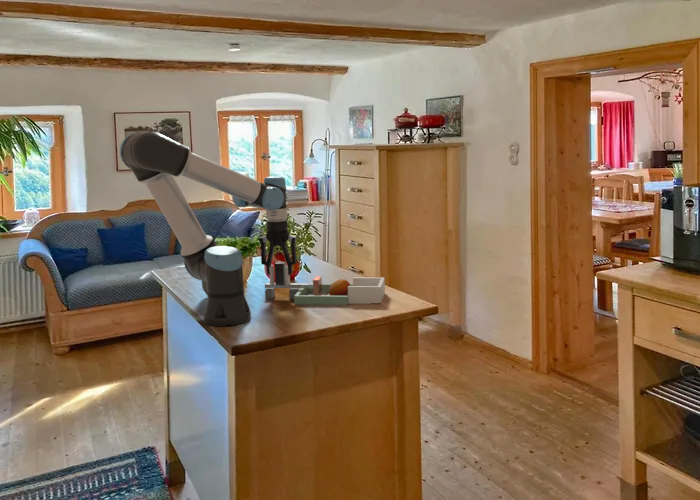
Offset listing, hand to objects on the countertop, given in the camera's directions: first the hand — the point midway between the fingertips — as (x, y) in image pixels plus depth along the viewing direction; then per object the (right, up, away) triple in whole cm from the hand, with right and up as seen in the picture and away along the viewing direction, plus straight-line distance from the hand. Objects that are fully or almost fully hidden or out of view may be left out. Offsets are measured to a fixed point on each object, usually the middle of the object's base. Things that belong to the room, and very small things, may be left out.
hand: (280, 283), depth 232 cm
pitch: (+10, -5, 0) cm, 12 cm away
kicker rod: (+5, -5, 0) cm, 7 cm away
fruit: (+22, -5, -2) cm, 23 cm away
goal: (+31, -5, -3) cm, 32 cm away
